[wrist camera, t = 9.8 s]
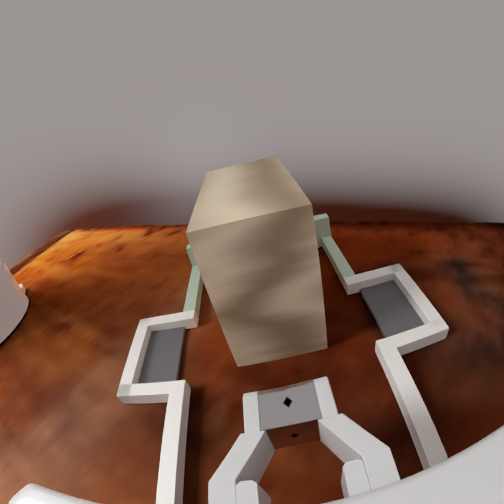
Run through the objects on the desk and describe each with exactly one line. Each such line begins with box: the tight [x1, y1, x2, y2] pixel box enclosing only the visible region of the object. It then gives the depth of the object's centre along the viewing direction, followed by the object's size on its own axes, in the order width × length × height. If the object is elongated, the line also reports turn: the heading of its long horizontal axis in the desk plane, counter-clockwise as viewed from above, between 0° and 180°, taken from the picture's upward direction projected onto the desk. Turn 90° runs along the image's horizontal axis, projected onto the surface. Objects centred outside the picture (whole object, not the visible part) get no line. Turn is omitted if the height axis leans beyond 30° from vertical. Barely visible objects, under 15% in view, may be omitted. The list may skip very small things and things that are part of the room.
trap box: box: [116, 214, 449, 504], centre depth 18 cm, size 22×27×3 cm
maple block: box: [186, 156, 328, 367], centre depth 21 cm, size 6×12×10 cm, turn 3°
